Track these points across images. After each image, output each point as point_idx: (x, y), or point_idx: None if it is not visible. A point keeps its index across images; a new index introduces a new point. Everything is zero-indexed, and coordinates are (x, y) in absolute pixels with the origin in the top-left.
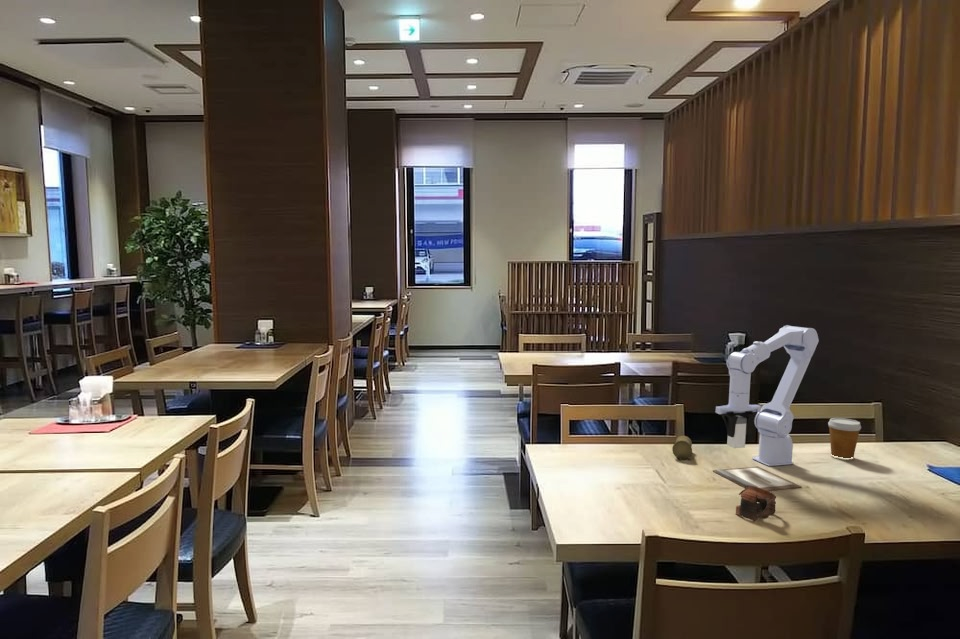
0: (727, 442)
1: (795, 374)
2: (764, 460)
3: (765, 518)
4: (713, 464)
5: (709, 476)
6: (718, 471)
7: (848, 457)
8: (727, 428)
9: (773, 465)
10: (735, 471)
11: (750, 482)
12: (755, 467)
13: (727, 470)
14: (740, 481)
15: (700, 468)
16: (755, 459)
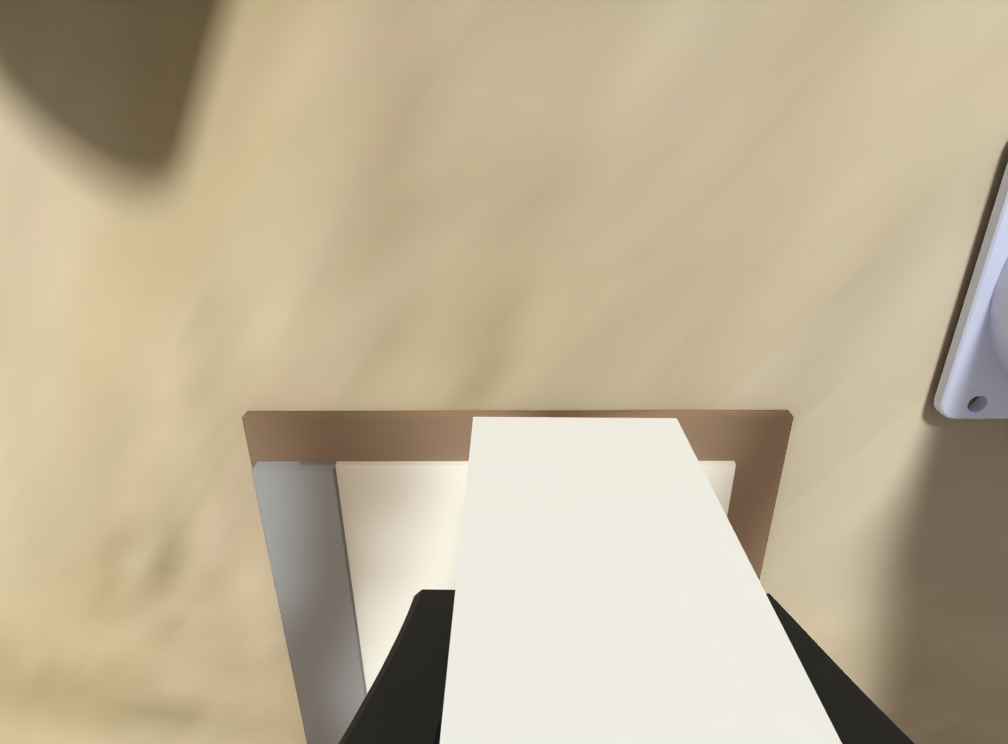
0: (471, 445)
1: None
2: (1002, 335)
3: None
4: (381, 207)
5: (153, 510)
6: (258, 493)
7: None
8: (367, 736)
9: (991, 412)
10: (437, 510)
11: None
12: (738, 439)
13: (375, 473)
14: (311, 711)
15: (158, 301)
16: (999, 203)
